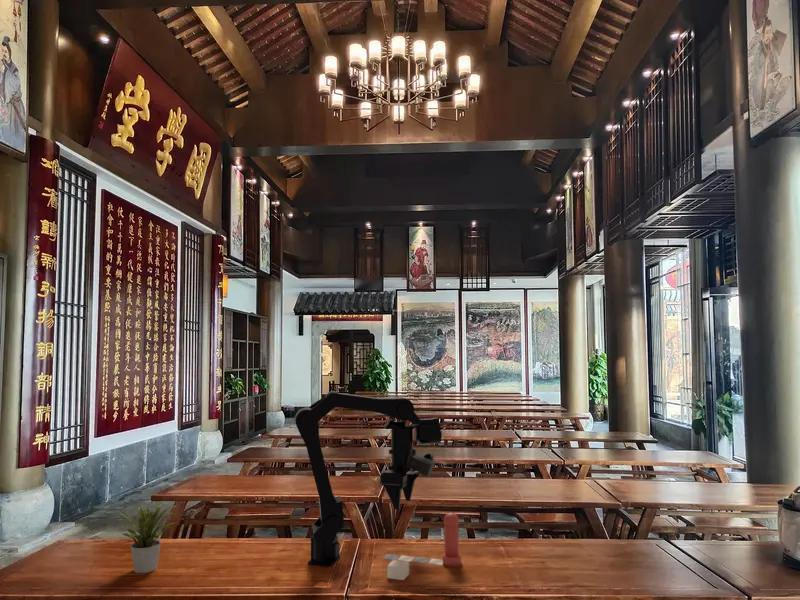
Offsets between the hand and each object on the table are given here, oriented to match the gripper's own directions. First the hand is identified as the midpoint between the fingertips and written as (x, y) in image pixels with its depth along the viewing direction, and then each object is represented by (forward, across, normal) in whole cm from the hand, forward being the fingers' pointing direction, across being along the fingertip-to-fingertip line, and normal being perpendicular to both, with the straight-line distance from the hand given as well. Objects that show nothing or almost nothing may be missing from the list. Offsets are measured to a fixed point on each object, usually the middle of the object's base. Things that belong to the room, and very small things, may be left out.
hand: (402, 505), depth 165 cm
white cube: (+13, -17, -4) cm, 22 cm away
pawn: (+12, -5, -14) cm, 19 cm away
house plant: (+13, -28, +57) cm, 65 cm away
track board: (+13, -5, -6) cm, 15 cm away
